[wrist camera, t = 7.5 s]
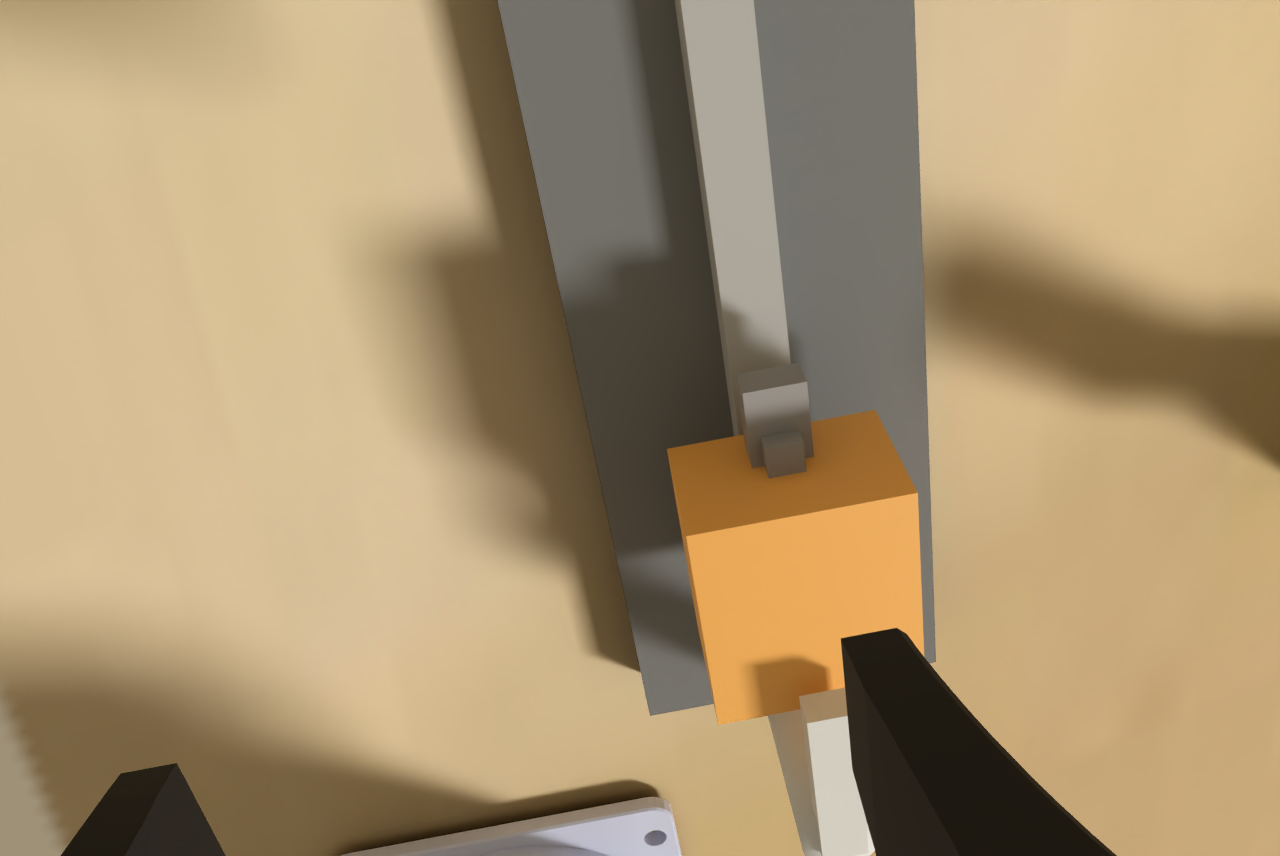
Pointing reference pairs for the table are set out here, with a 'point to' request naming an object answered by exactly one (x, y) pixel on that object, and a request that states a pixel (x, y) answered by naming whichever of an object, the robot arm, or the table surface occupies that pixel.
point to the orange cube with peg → (794, 545)
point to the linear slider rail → (730, 279)
